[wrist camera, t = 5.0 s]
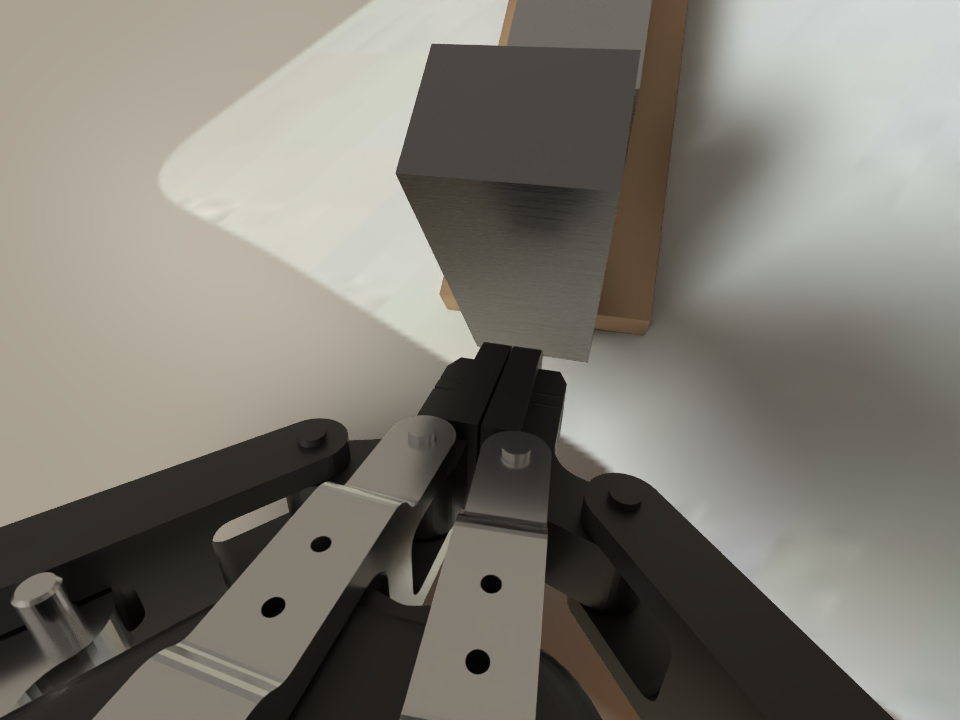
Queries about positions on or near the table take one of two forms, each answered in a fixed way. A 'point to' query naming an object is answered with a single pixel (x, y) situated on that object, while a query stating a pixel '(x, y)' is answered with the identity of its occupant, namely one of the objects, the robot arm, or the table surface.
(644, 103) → the guide board
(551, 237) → the brushed grey metal block
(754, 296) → the table surface
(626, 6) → the outer sleeve
